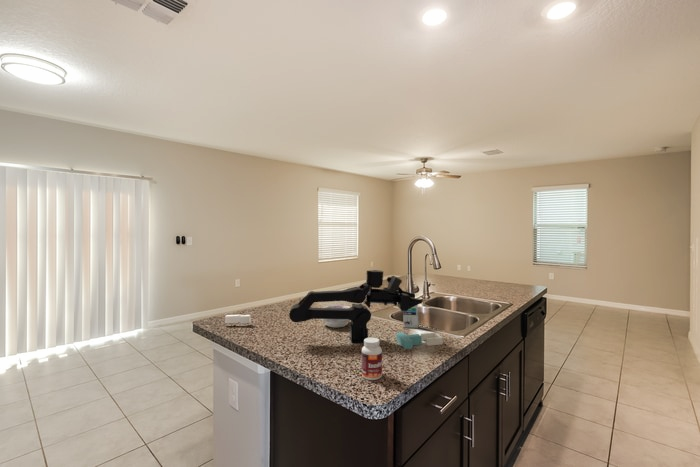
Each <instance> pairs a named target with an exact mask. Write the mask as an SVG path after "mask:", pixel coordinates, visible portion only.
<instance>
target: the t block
mask: <svg viewBox="0 0 700 467" xmlns="http://www.w3.org/2000/svg"><path fill="white" fill-rule="evenodd" d="M395 335H396V341H397V342H398V344H399V345H400V346H401V347H402V348H403V349H404V350H411V349H413V348H414V347H413V346H417V345H422V344H423V342H422V341H423V340H421V335H420V333H414V334H406V333H405V332H404V331H403V332H396V334H395Z"/></svg>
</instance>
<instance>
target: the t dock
mask: <svg viewBox="0 0 700 467" xmlns="http://www.w3.org/2000/svg"><path fill="white" fill-rule="evenodd" d="M419 335H420V336H421V340H422V341H425V342H426V343H425V344H426V346H438V345H440V346H441V345H443V344H444V342H443V341H444V340H443V337H442V336H441V335H439V334H437V332H428V333H426V332H425V333H423V332H422V333H419Z"/></svg>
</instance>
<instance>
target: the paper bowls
mask: <svg viewBox="0 0 700 467" xmlns="http://www.w3.org/2000/svg"><path fill="white" fill-rule="evenodd" d="M350 307H351V306H348V305H326V306H324V307H322V308H350ZM320 320H321V321H322V322H324V323H325V325H326V326H327V327H329V328H344V327H346V326H347V325H348V324H349V323H350V322H351V320H349V319H320Z"/></svg>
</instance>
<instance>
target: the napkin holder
mask: <svg viewBox="0 0 700 467" xmlns="http://www.w3.org/2000/svg"><path fill="white" fill-rule="evenodd" d="M251 317H252V316H251V314H226V315H225V316H224V321H225V322H224V324H225V323H238V322H240V323H250V322H251V321H252V320H251ZM251 323H252V322H251Z"/></svg>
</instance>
